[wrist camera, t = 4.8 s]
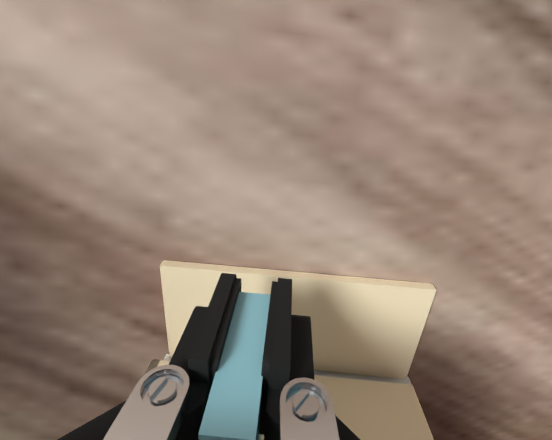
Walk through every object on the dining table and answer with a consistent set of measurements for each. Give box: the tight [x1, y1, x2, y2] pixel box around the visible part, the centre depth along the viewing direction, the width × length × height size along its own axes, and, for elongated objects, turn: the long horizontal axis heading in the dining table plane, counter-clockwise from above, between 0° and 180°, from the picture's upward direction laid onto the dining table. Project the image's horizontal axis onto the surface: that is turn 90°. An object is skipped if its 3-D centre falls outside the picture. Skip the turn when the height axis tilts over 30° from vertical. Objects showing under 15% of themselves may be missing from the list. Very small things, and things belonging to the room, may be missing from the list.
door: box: [145, 292, 270, 440], centre depth 11 cm, size 8×7×10 cm
